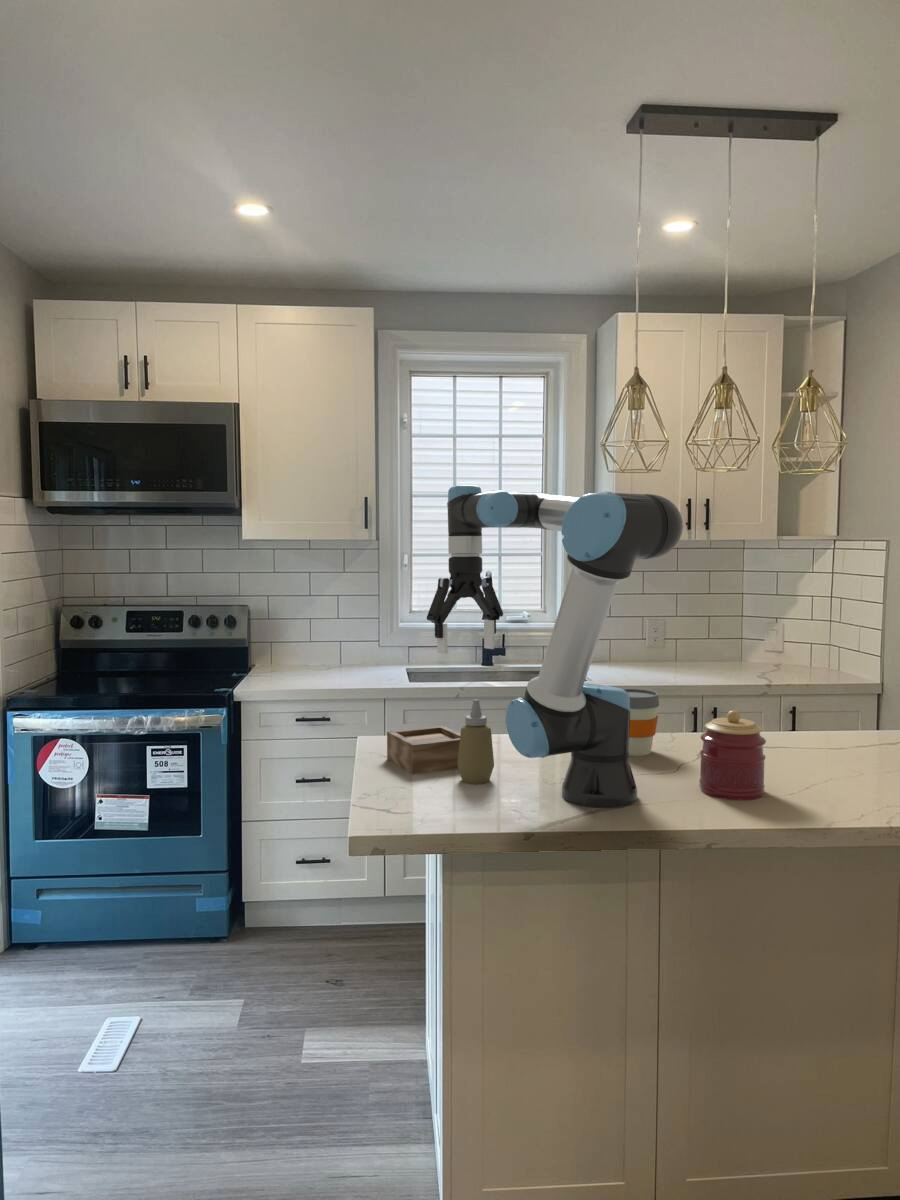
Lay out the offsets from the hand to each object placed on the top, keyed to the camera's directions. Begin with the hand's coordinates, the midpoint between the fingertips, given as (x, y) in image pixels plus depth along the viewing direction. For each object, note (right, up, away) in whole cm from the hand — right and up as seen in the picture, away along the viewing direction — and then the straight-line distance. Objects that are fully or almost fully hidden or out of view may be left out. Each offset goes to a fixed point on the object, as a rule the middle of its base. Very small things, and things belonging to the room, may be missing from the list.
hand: (466, 650), depth 195 cm
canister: (+55, -29, -13) cm, 64 cm away
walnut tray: (-9, -28, +10) cm, 31 cm away
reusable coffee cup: (+42, -27, +21) cm, 54 cm away
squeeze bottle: (+2, -29, -5) cm, 29 cm away
